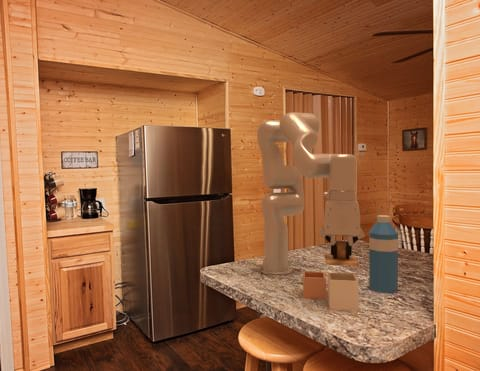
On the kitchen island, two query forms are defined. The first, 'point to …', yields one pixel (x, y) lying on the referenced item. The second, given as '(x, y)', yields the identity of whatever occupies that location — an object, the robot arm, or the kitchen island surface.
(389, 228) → the water bottle
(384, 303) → the kitchen island surface
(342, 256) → the lid
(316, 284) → the orange open box
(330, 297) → the cream open box
